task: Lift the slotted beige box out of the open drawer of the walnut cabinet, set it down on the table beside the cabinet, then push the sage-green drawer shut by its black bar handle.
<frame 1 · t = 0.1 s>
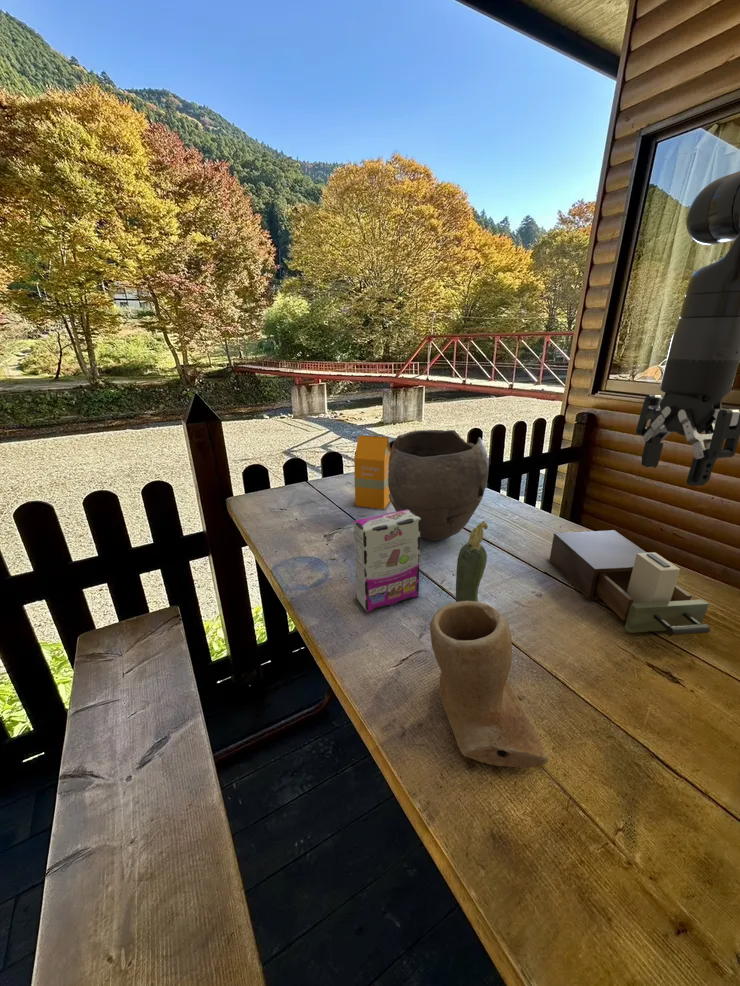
hand: (670, 474, 59), 27 cm above the table, tool pointing down, fingers open, 8 cm apart
drawer: (648, 600, 70), point 3 cm above the table, slide at 9.0 cm, touching slotted beige box
cabinet: (598, 576, 83), on the table
candy bar box: (386, 598, 77), on the table
orange juice: (373, 503, 121), on the table
vegetable: (465, 630, 69), on the table
slotted beige box: (645, 605, 71), point 2 cm above the table, touching drawer
clay pot: (430, 537, 101), on the table
clay boot vessel: (475, 720, 53), on the table
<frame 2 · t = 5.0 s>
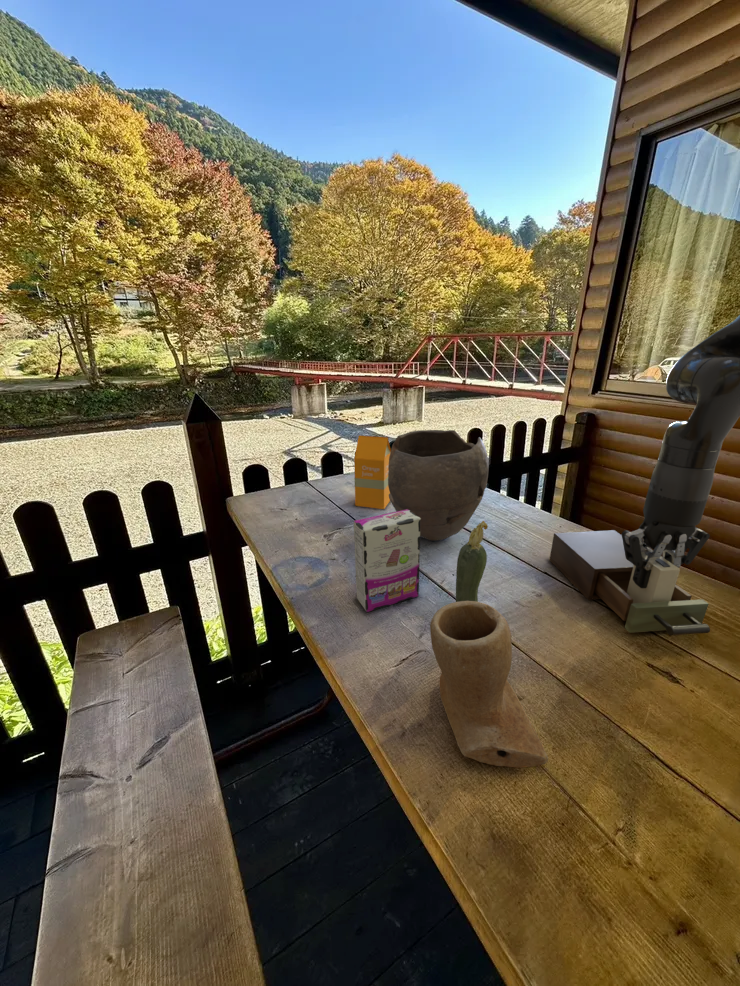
hand: (651, 584, 70), 6 cm above the table, tool pointing down, fingers closed on slotted beige box, 3 cm apart
slotted beige box: (645, 605, 71), point 2 cm above the table, touching drawer, gripper
everything else where it was.
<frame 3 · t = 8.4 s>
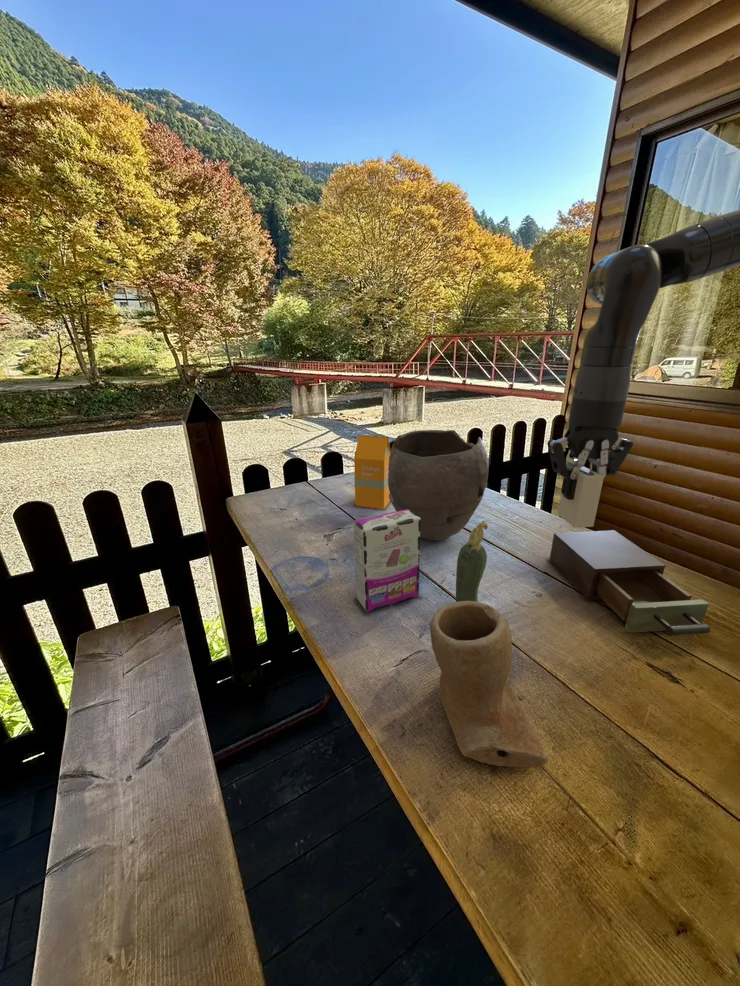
hand: (579, 497, 70), 20 cm above the table, tool pointing down, fingers closed on slotted beige box, 3 cm apart
drawer: (648, 600, 70), point 3 cm above the table, slide at 9.0 cm
slotted beige box: (574, 520, 72), point 16 cm above the table, touching gripper
everything else where it was.
when the fingers open (4 cm above the table, at t = 12.1 s): slotted beige box stays where it is, on the table.
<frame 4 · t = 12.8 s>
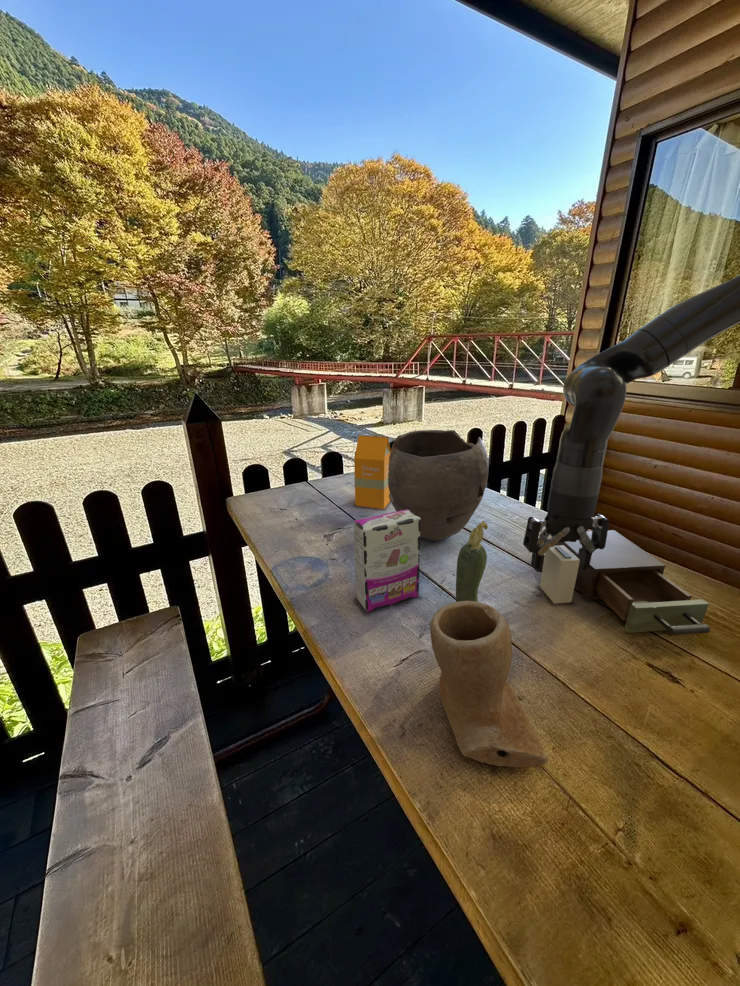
hand: (559, 568, 76), 6 cm above the table, tool pointing down, fingers open, 8 cm apart
slotted beige box: (555, 594, 78), on the table
everything else where it was.
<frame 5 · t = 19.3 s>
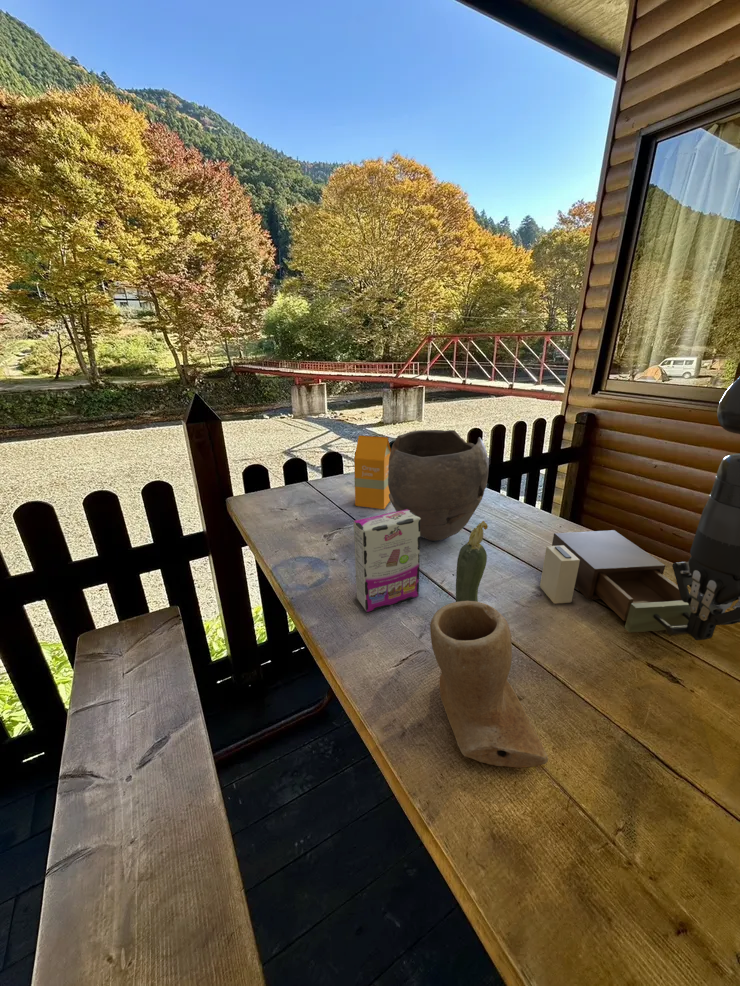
hand: (697, 636, 61), 4 cm above the table, tool pointing down, fingers closed
drawer: (648, 600, 70), point 3 cm above the table, slide at 9.0 cm, touching gripper
everything else where it was.
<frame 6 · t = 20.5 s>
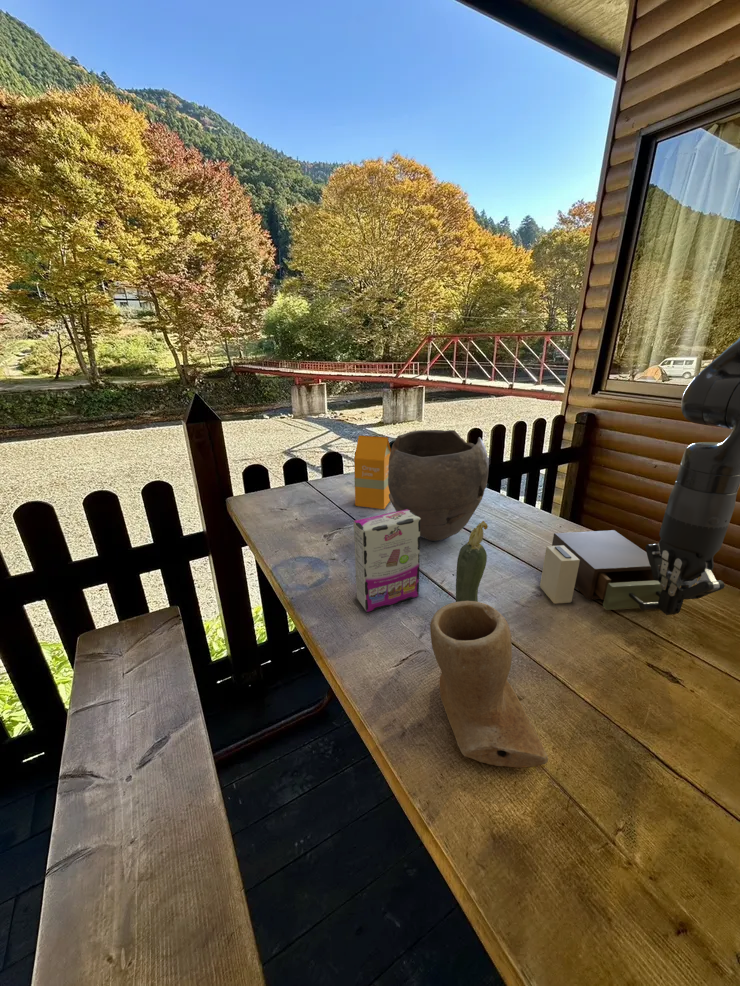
hand: (667, 611, 66), 4 cm above the table, tool pointing down, fingers closed
drawer: (625, 581, 76), point 3 cm above the table, slide at 3.1 cm, touching gripper
everything else where it was.
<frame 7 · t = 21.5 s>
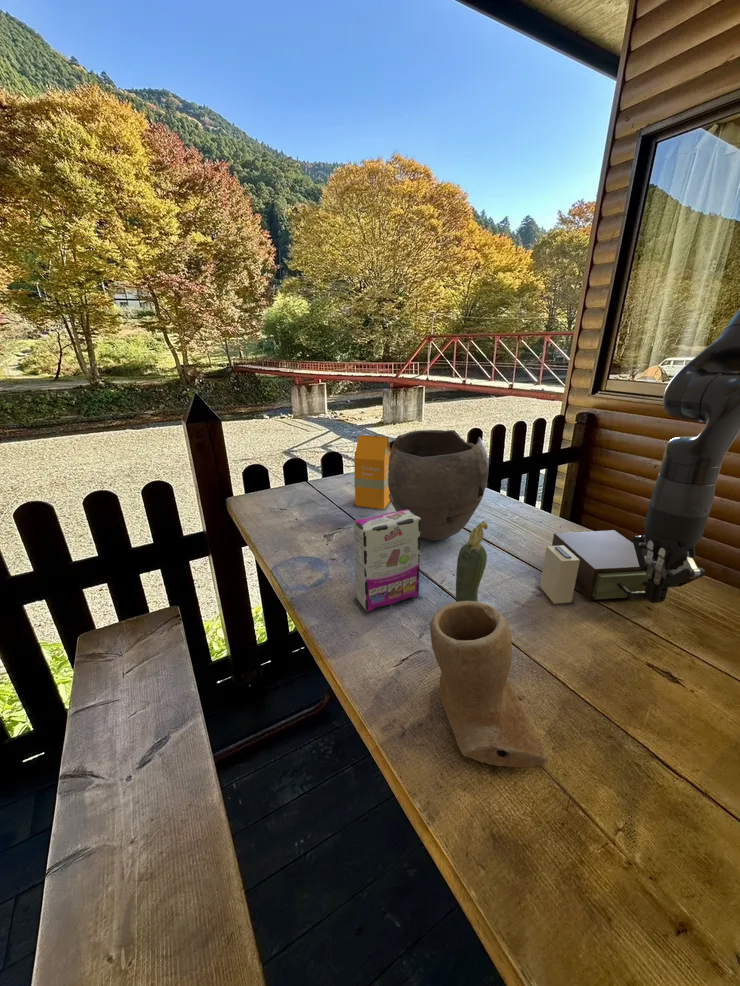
hand: (653, 600, 69), 4 cm above the table, tool pointing down, fingers closed
drawer: (614, 572, 79), point 3 cm above the table, slide at 0.0 cm, touching cabinet, gripper
everything else where it was.
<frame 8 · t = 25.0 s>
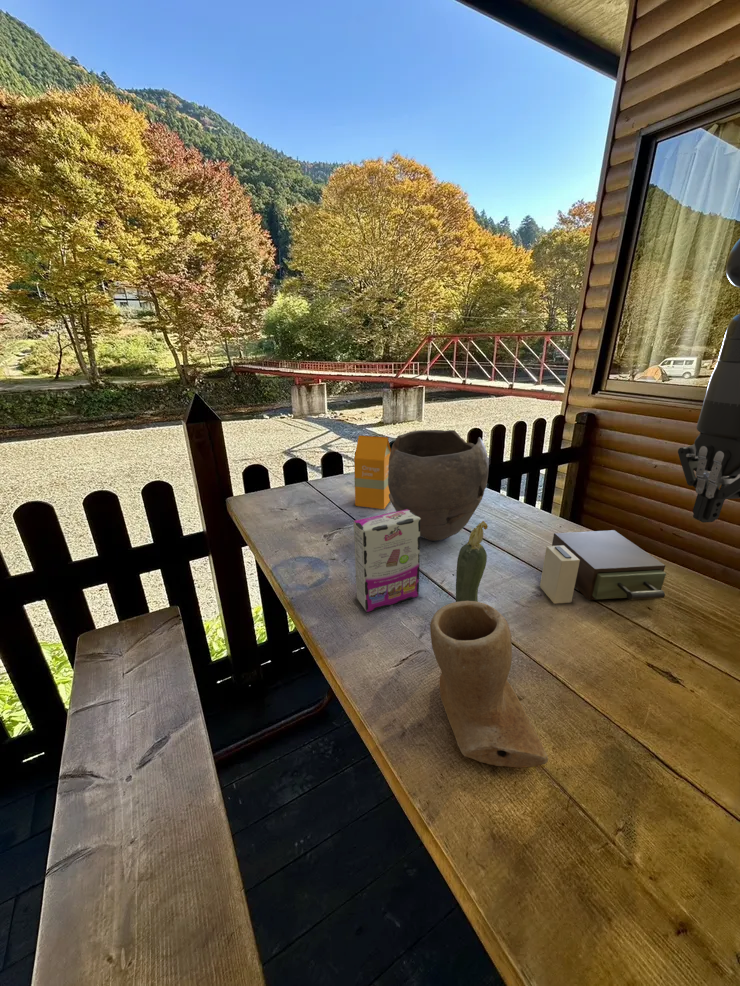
hand: (703, 519, 59), 21 cm above the table, tool pointing down, fingers closed
drawer: (614, 572, 79), point 3 cm above the table, slide at 0.0 cm, touching cabinet
everything else where it was.
at the end: slotted beige box inside the target area (0.0 cm from its centre), on the table; slotted beige box tilted 0°; drawer slide at 0.0 cm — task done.
